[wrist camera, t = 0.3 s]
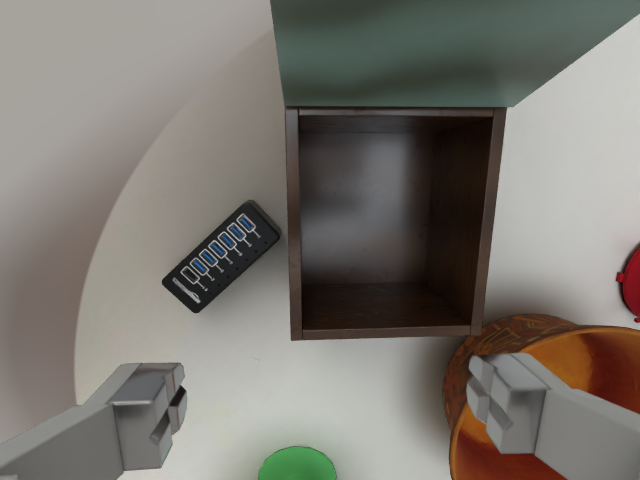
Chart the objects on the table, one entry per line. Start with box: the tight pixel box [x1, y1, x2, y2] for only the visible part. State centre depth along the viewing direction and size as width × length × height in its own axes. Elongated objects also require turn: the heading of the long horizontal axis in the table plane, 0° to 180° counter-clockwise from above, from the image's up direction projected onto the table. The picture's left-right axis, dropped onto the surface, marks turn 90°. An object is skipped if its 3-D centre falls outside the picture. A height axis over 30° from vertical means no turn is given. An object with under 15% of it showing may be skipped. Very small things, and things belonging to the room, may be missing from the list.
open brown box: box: [285, 106, 507, 341], centre depth 25 cm, size 16×14×10 cm
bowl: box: [442, 314, 640, 480], centre depth 30 cm, size 21×21×10 cm
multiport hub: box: [162, 200, 282, 313], centre depth 29 cm, size 4×11×2 cm, turn 132°
